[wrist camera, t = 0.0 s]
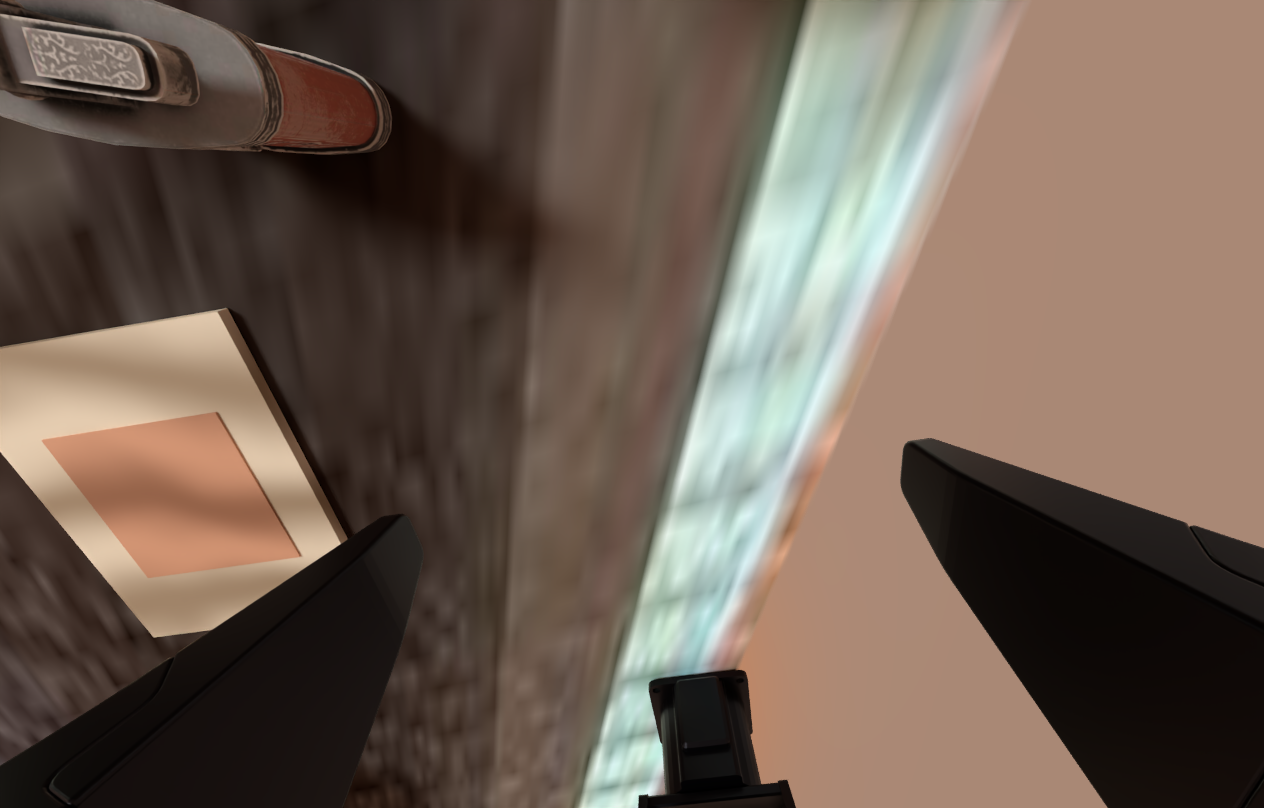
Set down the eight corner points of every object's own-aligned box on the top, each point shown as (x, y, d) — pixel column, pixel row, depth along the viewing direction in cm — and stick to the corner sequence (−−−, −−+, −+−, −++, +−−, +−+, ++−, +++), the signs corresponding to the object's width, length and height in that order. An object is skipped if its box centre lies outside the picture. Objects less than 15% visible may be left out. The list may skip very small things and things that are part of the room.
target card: (379, 600, 30) (374, 609, 29) (162, 629, 31) (152, 638, 30) (227, 307, 22) (215, 312, 22) (-58, 356, 23) (-78, 362, 22)
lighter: (182, 136, 19) (-207, 111, 10) (158, 30, 18) (-319, -108, 9) (395, 167, 20) (203, 167, 11) (388, 65, 18) (160, -31, 9)
